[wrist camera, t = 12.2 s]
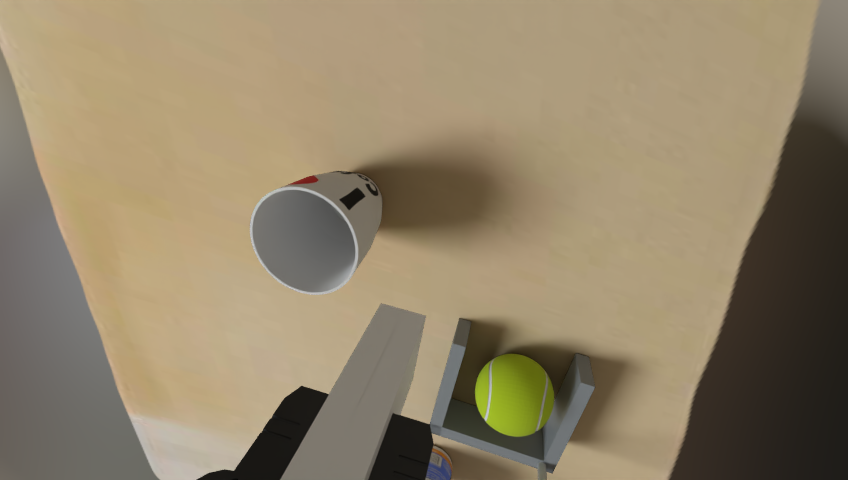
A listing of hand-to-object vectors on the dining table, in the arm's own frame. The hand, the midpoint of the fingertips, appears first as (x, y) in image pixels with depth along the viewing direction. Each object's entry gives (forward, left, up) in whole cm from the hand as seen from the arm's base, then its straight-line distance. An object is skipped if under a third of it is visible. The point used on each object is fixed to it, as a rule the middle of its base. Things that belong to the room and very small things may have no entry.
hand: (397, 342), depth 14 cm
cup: (+5, -10, -23) cm, 26 cm away
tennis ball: (+18, +8, -23) cm, 31 cm away
